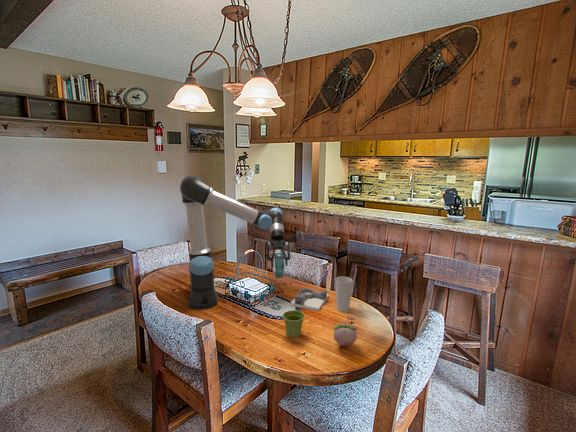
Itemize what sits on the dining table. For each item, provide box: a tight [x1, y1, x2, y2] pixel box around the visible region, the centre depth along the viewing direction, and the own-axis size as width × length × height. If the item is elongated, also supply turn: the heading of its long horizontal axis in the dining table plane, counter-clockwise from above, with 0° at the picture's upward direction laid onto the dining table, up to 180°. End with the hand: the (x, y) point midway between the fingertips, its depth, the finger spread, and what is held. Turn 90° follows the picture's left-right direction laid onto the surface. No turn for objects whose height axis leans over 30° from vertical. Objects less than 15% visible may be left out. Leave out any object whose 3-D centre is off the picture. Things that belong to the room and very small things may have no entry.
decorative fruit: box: [332, 322, 358, 347], centre depth 128 cm, size 9×8×10 cm
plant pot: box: [282, 309, 306, 338], centre depth 137 cm, size 9×9×9 cm
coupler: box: [274, 252, 285, 279], centre depth 168 cm, size 5×5×12 cm
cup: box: [334, 275, 354, 313], centre depth 159 cm, size 8×8×16 cm
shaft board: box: [289, 288, 330, 312], centre depth 169 cm, size 18×15×5 cm
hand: (279, 271), depth 165 cm, fingers closed on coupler, 5 cm apart
